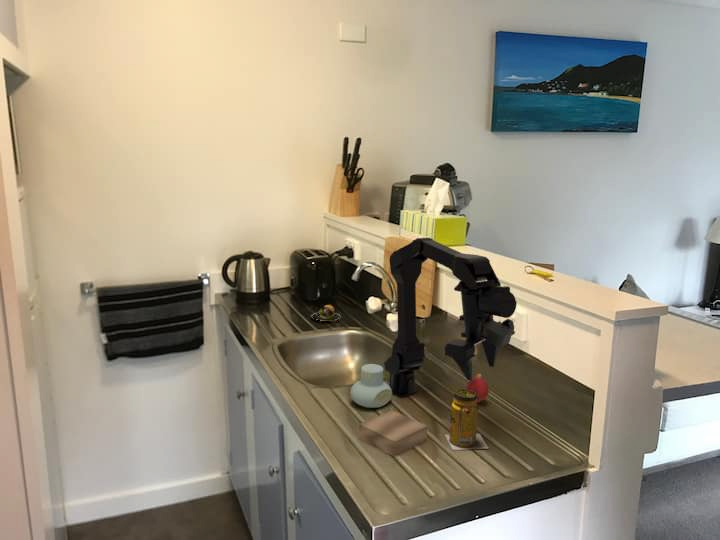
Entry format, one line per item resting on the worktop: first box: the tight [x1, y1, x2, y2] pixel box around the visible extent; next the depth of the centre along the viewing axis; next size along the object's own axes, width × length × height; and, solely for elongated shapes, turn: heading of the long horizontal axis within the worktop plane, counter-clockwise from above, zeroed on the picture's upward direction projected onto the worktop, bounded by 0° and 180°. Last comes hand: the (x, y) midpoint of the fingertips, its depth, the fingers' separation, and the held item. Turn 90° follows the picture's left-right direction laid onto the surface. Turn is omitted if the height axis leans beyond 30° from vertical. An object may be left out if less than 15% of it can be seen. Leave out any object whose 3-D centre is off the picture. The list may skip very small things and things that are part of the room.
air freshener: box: [350, 363, 393, 409], centre depth 153 cm, size 11×8×10 cm
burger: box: [310, 302, 342, 323], centre depth 227 cm, size 12×12×8 cm
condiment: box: [444, 388, 489, 451], centre depth 134 cm, size 7×8×12 cm
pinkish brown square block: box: [358, 409, 428, 458], centre depth 135 cm, size 11×11×4 cm
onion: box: [465, 373, 490, 404], centre depth 156 cm, size 6×6×8 cm
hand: (480, 373), depth 139 cm, fingers open, 9 cm apart
